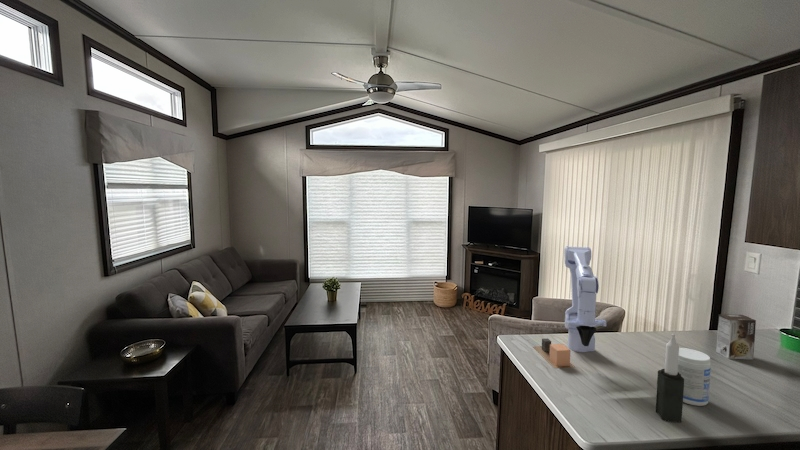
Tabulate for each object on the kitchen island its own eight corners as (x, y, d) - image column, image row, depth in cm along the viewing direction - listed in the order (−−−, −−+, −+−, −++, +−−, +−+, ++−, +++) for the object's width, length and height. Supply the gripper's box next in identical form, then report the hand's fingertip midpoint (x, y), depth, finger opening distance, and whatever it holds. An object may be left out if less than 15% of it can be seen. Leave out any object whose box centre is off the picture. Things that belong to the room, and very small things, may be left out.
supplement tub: (712, 410, 102) (716, 363, 101) (672, 401, 107) (675, 356, 106) (702, 394, 111) (706, 350, 110) (666, 386, 115) (668, 344, 114)
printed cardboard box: (739, 352, 139) (742, 314, 138) (754, 360, 133) (757, 320, 132) (715, 351, 140) (718, 313, 139) (728, 359, 134) (731, 319, 133)
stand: (550, 349, 144) (551, 335, 143) (575, 371, 126) (575, 355, 125) (532, 350, 143) (532, 336, 143) (554, 372, 125) (555, 356, 125)
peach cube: (562, 358, 132) (562, 344, 132) (569, 365, 127) (570, 350, 126) (549, 359, 132) (549, 344, 131) (556, 366, 127) (556, 350, 126)
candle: (683, 423, 97) (689, 338, 95) (663, 420, 98) (668, 336, 96) (673, 412, 102) (678, 331, 100) (653, 410, 103) (658, 329, 101)
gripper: (573, 313, 121) (572, 350, 122) (612, 312, 122) (611, 349, 123) (562, 307, 128) (561, 342, 129) (599, 306, 129) (598, 340, 130)
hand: (585, 345), depth 126 cm, fingers closed
